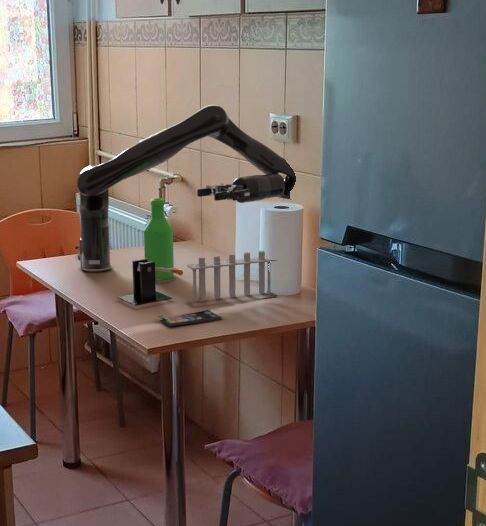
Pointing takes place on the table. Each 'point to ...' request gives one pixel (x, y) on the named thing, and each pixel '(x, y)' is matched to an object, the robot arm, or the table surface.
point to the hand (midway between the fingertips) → (206, 194)
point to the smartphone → (190, 318)
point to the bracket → (144, 284)
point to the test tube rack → (230, 274)
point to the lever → (165, 269)
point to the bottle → (159, 240)
